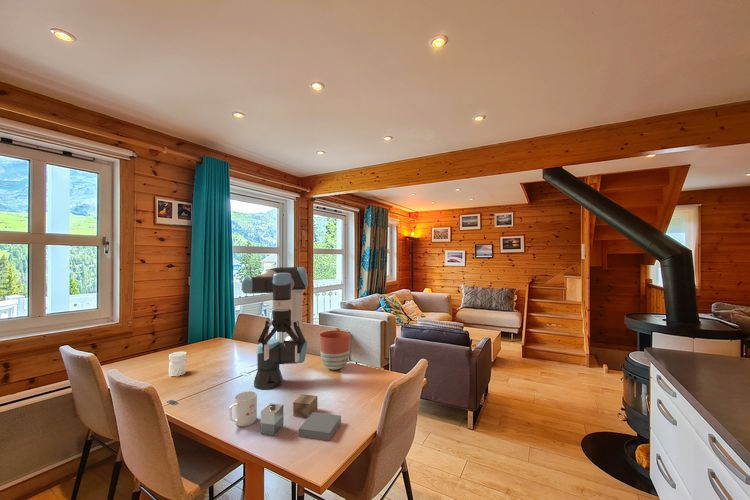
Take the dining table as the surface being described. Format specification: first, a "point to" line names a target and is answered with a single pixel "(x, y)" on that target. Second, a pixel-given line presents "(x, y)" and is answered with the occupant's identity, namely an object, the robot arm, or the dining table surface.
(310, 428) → the slate stand
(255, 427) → the dining table surface
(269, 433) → the block
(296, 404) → the walnut stand
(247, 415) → the mug
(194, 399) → the dining table surface
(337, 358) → the planter
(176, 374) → the white lidded jar
